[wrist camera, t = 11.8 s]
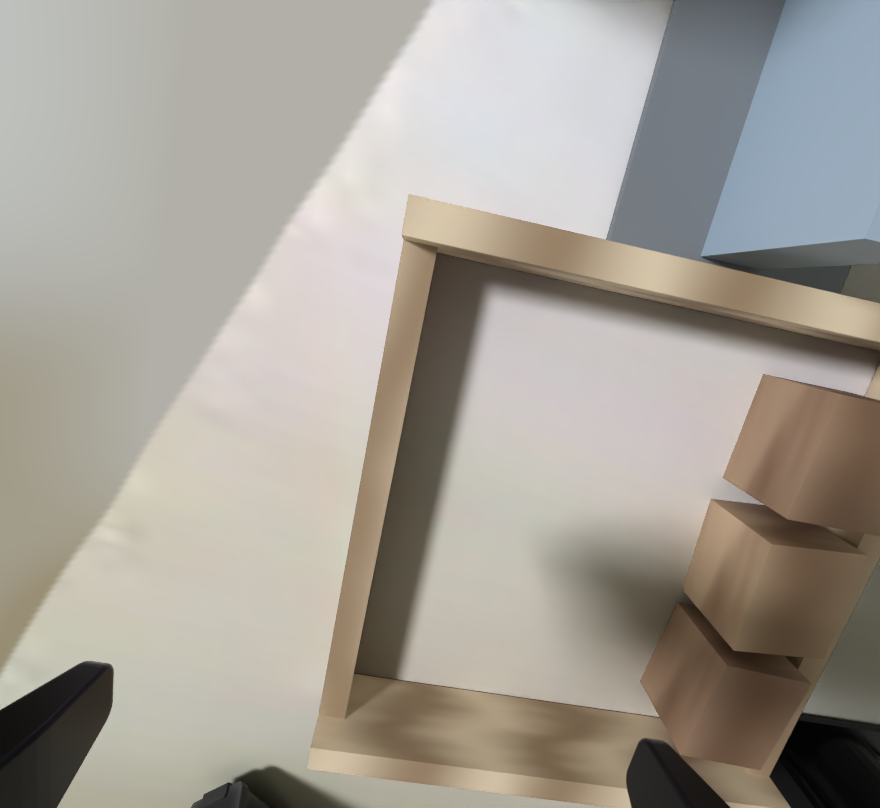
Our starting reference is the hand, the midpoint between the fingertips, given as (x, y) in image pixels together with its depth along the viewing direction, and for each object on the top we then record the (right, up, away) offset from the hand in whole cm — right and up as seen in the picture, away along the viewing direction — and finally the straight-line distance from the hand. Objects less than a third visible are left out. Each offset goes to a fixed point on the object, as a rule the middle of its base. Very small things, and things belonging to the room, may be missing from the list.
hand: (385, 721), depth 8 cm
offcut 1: (+17, +4, +13) cm, 22 cm away
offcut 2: (+15, -2, +15) cm, 21 cm away
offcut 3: (+14, -7, +16) cm, 23 cm away
